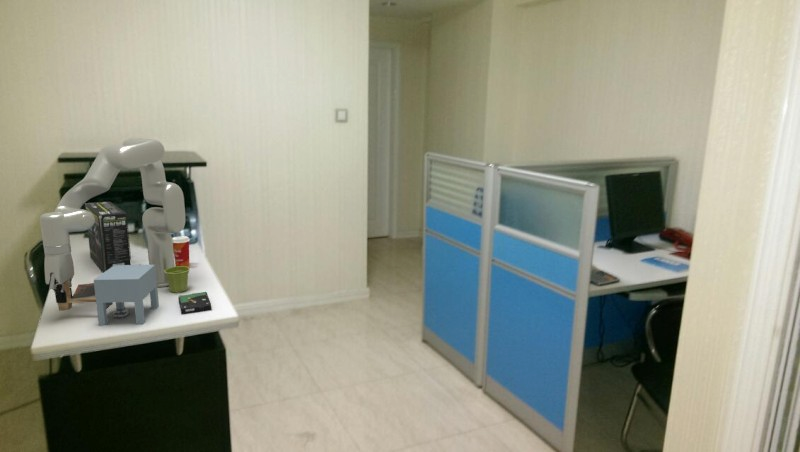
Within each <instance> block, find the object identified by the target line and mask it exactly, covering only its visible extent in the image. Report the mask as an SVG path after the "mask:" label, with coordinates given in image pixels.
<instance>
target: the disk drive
mask: <svg viewBox="0 0 800 452" xmlns="http://www.w3.org/2000/svg"><path fill="white" fill-rule="evenodd" d="M178 304H179V308H180V313H181V315H187V314H188V315H189V314H195V313H201V312H209V311H213V310H212V303H211V300H210V299H209V295H208V292H207V291H201V292H194V293H188V294H182V295H178Z"/></svg>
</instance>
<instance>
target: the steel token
mask: <svg viewBox="0 0 800 452" xmlns="http://www.w3.org/2000/svg"><path fill="white" fill-rule="evenodd" d="M129 316H130V310H129V309H128V308H123V309H115V310H114V311H113V312H112V318H113V319H117V320H119V319H125V318H127V317H129Z"/></svg>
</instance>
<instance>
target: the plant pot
mask: <svg viewBox="0 0 800 452" xmlns="http://www.w3.org/2000/svg"><path fill="white" fill-rule="evenodd" d="M164 272H165V273H166V276H167V279H168V282H169V286H168V287H169V290H170V292H172V293H174V294H175V293H176V294H178V293H183V292H186V291H187V290H188V279H189V278H188V277H189V274H190V266H189V267H185V266H177V267H176V266H175V267H171V268H168V269H166V270H164Z"/></svg>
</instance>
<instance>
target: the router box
mask: <svg viewBox="0 0 800 452" xmlns="http://www.w3.org/2000/svg"><path fill="white" fill-rule="evenodd" d="M84 207H85V210H87V211H89V212H91V213H92V214H93V215H94V217H95V223H94V225H93V226H92V227H91V228H90V229H88V230H87V235H88V248H89V256H90V259H91V260H92V261H93V262H94V264H95V265H96V266H97V268H99V270H100V271H101V272H102V274H103V273H104V272H105V271H107V270H108V269H110V268H111V267H112V266H114V265H132V264H131V260H132V255H131V251H130V250H131V245H130V235H129V224H128V223H129V222H128V216H127V212H125V211H124V210H122V209H121V208H120V207H118V206H117V205H116V204H114V202H113V203H112V202H111V201H102V202H100V201H99V202H98V201H97V202H88V203H86V202H85V203H84Z"/></svg>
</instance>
